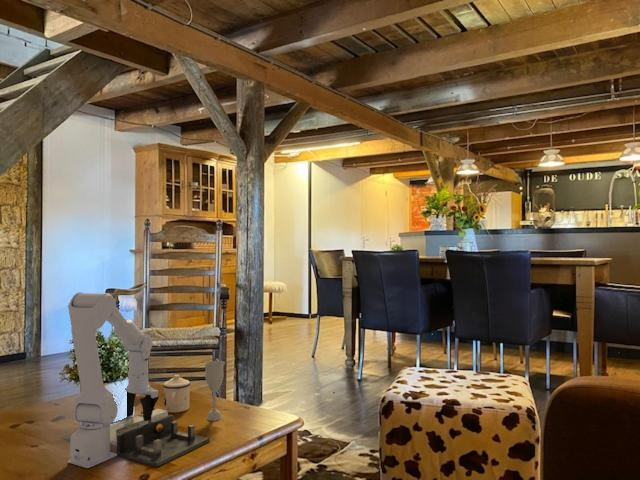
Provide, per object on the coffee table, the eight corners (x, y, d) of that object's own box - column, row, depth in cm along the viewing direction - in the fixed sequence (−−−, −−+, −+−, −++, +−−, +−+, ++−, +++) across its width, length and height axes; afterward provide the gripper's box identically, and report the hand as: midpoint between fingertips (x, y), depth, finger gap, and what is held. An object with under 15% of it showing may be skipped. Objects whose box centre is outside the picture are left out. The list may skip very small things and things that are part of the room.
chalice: (222, 421, 170) (222, 365, 170) (201, 421, 170) (201, 365, 170) (226, 414, 177) (227, 360, 178) (206, 414, 177) (206, 360, 178)
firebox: (157, 467, 135) (157, 445, 135) (116, 455, 143) (117, 435, 143) (209, 441, 153) (209, 422, 153) (171, 432, 160) (171, 414, 160)
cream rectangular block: (116, 445, 150) (116, 429, 150) (105, 442, 152) (105, 427, 152) (167, 424, 167) (167, 410, 167) (157, 422, 170) (157, 408, 170)
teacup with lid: (165, 405, 188) (166, 372, 188) (192, 404, 188) (192, 371, 188) (158, 416, 176) (158, 381, 176) (186, 415, 176) (186, 380, 176)
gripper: (165, 373, 160) (165, 418, 160) (131, 367, 167) (131, 410, 167) (147, 378, 154) (147, 425, 154) (113, 372, 161) (113, 417, 161)
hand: (138, 418), depth 160 cm, fingers open, 7 cm apart
